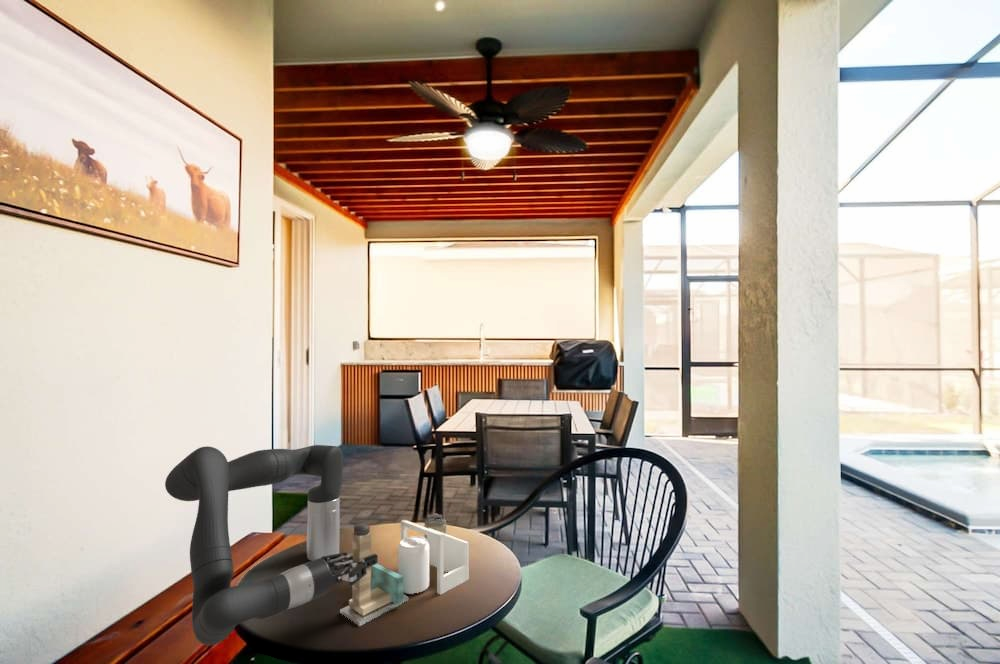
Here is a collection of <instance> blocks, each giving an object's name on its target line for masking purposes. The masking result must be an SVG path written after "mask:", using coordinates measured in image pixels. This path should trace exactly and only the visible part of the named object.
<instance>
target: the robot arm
mask: <svg viewBox="0 0 1000 664" xmlns="http://www.w3.org/2000/svg"><path fill="white" fill-rule="evenodd" d="M343 471H344V454H343V451H342V449H341V448H340V447H339V446H338V445H337V446H336V445H325V444H312V445H310V446H306V447H302V448H296V449H289V448H269V449H261V450H255V451H252V452H250V453H247V454H244V455H242V456H238V457H236V458H234V459H231V460H229V461H228V460H227V457H226V456H225V455H224V453H223V452H222V451H221V450H219V449H218V448H215V447H214V446H202V447H198V448H197V449H194V451H192V452H191V453H189V454H188V455H187V456H186V457H185V458H184V459H182V460H181V461H180V462H179V463H178V464H177V465H175V466H174V467H173V469H171V470H170V472H169V473H168V474H167V476H166V479H165V482H164V484H165V485H164V486H165V490H166V492H167V493H168V494H169V496H171V497H173V498H174V499H176V500H179V501H183V502H195V501H198V508H197V514H196V519H195V521H194V522H195V524H194V526H193V530H192V533H191V534H192V535H191V540H190V545H189V562H190V571H191V578H192V579H191V580H192V584H193V585H192V586H193V587H192V588H193V590H192V592H193V594H192V608H191V609H192V611H191V617H192V618H191V621H192V623H191V625H192V631H193V634H194V637H195V639H196V640H197V642H199V643H201V644H202V645H204V646H214V645H218V644H219V643H222V642H223V641H224V640H225V639H227V638H228V637H229V636H230V634H232V632H233V630H234V629H235V627H237V626H239V624H241V623H243V622H244V623H245V622H248V620H251V619H256V620H263V619H267V618H270V617H273V616H276V615H278V614H280V613H282V612H284V611H287V610H290V609H292V608H297V607H299V606H301V605H302V606H303V605H304V604H306V603H308V602H312V601H313V600H315V599H318V598H321V597H322V596H324V595H326V594H329V592H330V591H331V588H332V587H333V586H334V584H335V585H336V584H339V583H343V582H344V581H345V582H348V586H352V585H354V584H355V583H356V582H357V581H358V580H360V579H361V578H362V577H363V576H365V575H366V568H368V567H370V566H372V565H375V564H378V559H379V558H378V554H377V553H374V554H373V553H372V554H371V555H370V556H368V557H365V558H363V559H360V560H357V561H354V560H353V553H349V554H348V552H340V514H341V513H340V508H341V507H340V505H341V504H340V503H341V502H340V500H341V499H340V497H341V489H342V485H343ZM296 475H299V476H300V475H305V476H307V475H308V476H314V477H316V476H317V477H320V479H321V480H320V485H316V486H313V487H312V488H310V489H309V490H308V492H307V523H306V558H307V559H308V560H309V561H308V562H305V563H302V564H300V565H297V566H295V567H292V568H289V569H288V570H285V571H283V572H281V573H278V574H277V575H276V574H275V575H274V576H270V577H268V578H265V579H263V580H261V581H257V582H250V583H245V584H244V583H243V584H240V585H233V586H231V583H232V579H233V577H234V576H233V575H234V561H233V555H232V549H231V542H230V534H229V492H231V491H238V490H244V489H250V488H256V487H264V486H265V487H266V486H270V485H271V486H272V485H276V484H279V483H282V482H285V481H287V479H289V478H290V477H292V476H296ZM358 564H359V565H358ZM356 565H358V566H357V567H356V568H355V566H356Z"/></svg>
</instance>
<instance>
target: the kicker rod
mask: <svg viewBox="0 0 1000 664" xmlns="http://www.w3.org/2000/svg"><path fill="white" fill-rule="evenodd" d="M370 526H371V525H370V523H366V522H363V523H362V522H361V523H357V524H355V525H354V526H353V532H352V554H353V560H354V561H357V560H360V559H363V558H365V557H368V556H370V555H372V553H371V552H372V540H371V539H372V531H371V529H370V528H371V527H370ZM358 565H359V564H358ZM358 565H356V566H355V568H356V567H357V566H358ZM351 586H352V591H351V592H352V593H351V596H352V598H350V599H348V606H349V607H350V608H352V609H353V610H355V611H356V612H358V613H360V614H361V615H363V616H364V615H366V614H368V613H370V612H372V611H374V610H376V609H378V608H380V607H382V606H384V605H386V604H388V603H389V602H391V601H392V602H394V603H395V604H397V605H399V604H401V603H403V594H404V593H403V576H401V575H399V574H398V572H395V571H393V570H391V569H389V568H387V567H385V566H383V565H380V564H379V563H377V564H375V565H372V566H370V567H368V568H366V575H365V576H363V577H362V578H361V579H360V580H358V581H357V582H356V583H355V584H354V585H351ZM403 604H404V603H403ZM401 605H402V604H401Z"/></svg>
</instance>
